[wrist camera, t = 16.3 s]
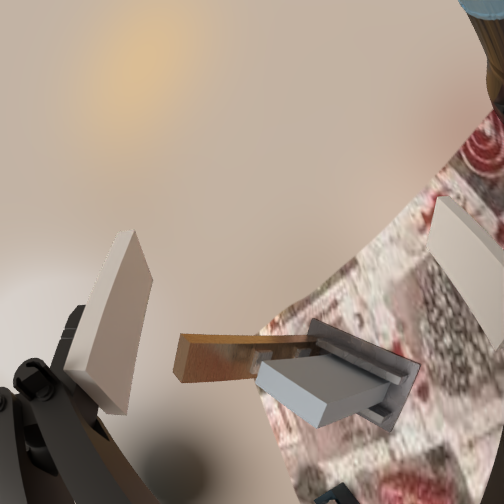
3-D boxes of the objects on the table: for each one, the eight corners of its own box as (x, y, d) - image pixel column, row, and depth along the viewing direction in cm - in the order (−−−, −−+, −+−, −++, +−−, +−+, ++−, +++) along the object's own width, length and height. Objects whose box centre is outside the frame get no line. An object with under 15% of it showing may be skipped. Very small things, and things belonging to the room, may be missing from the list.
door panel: (329, 351, 43) (257, 357, 35) (390, 381, 35) (327, 403, 26) (323, 369, 43) (250, 379, 35) (382, 401, 35) (316, 428, 26)
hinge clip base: (313, 318, 47) (182, 310, 34) (421, 364, 32) (304, 403, 19) (295, 375, 48) (166, 386, 34) (391, 431, 33) (263, 497, 19)
